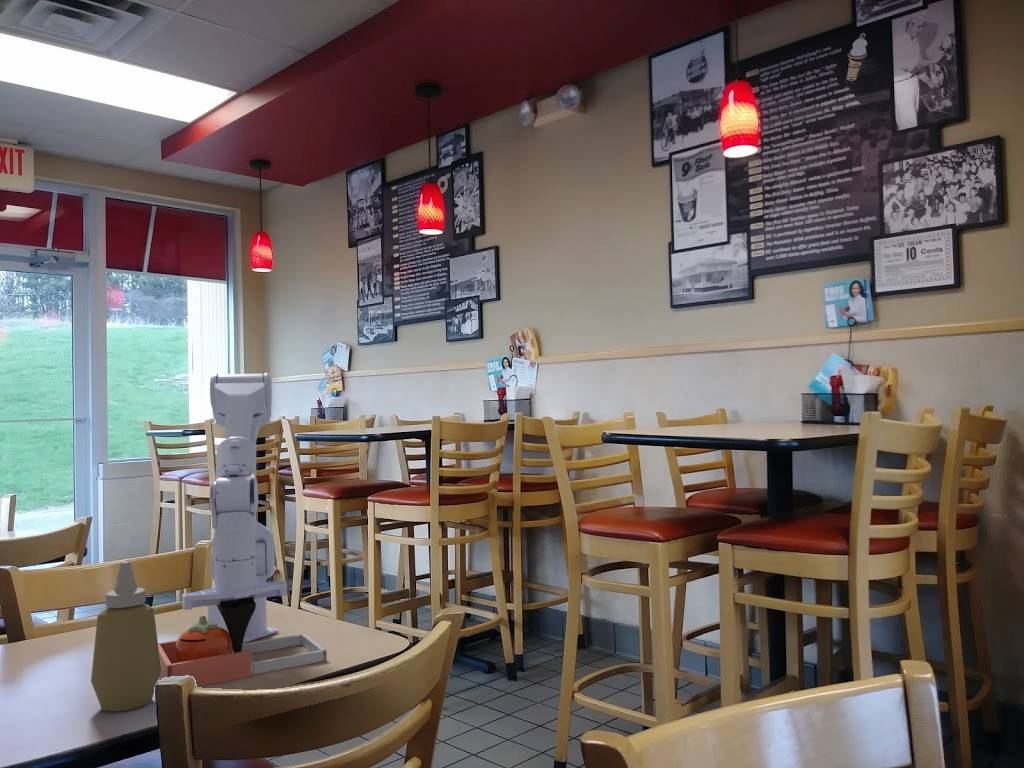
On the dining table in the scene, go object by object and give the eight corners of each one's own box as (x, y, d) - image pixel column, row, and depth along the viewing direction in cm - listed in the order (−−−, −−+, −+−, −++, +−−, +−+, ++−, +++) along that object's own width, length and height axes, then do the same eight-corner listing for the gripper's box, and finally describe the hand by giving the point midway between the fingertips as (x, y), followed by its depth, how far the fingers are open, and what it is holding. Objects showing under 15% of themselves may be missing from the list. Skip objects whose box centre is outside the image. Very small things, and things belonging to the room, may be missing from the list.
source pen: (304, 642, 127) (304, 633, 127) (326, 660, 118) (326, 650, 118) (235, 654, 122) (235, 645, 122) (253, 674, 112) (253, 663, 112)
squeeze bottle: (107, 695, 105) (106, 558, 106) (170, 691, 106) (168, 555, 107) (79, 718, 97) (78, 570, 98) (147, 714, 98) (146, 567, 99)
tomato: (164, 680, 111) (163, 622, 111) (193, 663, 118) (192, 608, 119) (214, 680, 110) (213, 622, 110) (240, 663, 117) (239, 609, 117)
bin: (231, 654, 122) (231, 631, 122) (251, 676, 111) (250, 651, 111) (154, 667, 117) (154, 643, 117) (167, 692, 106) (167, 665, 106)
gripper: (187, 568, 110) (188, 667, 109) (292, 555, 117) (293, 649, 117) (179, 561, 116) (180, 655, 115) (279, 549, 123) (280, 638, 123)
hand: (236, 651), depth 117 cm, fingers closed
